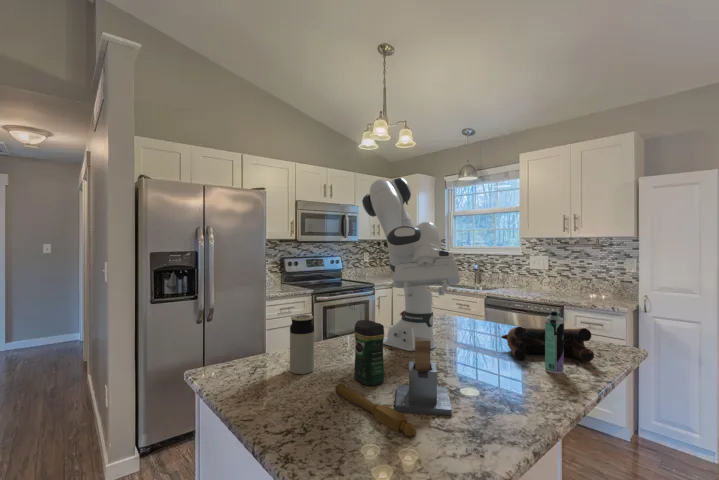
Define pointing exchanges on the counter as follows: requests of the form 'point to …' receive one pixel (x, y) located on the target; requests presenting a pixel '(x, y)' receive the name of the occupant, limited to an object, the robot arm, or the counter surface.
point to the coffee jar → (369, 352)
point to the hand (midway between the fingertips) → (425, 294)
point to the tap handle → (379, 411)
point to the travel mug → (301, 344)
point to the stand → (423, 393)
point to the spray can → (554, 344)
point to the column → (422, 353)
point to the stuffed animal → (535, 342)
